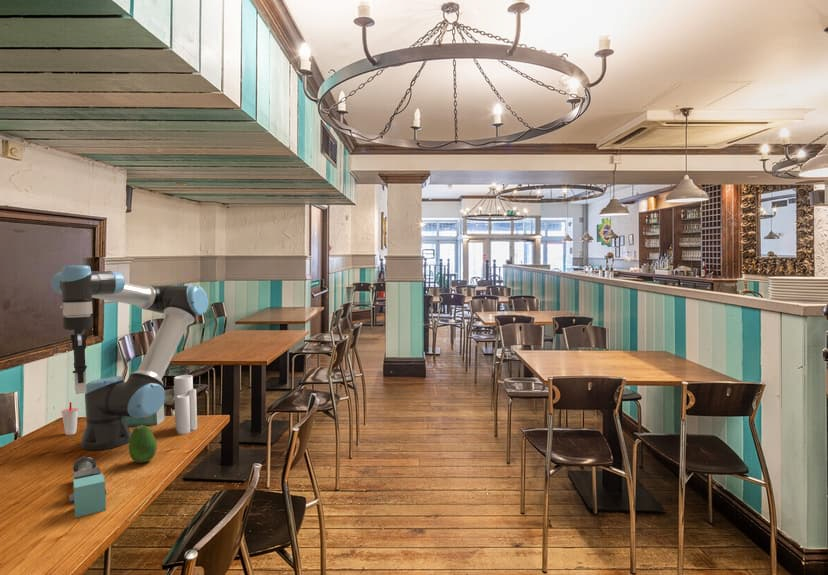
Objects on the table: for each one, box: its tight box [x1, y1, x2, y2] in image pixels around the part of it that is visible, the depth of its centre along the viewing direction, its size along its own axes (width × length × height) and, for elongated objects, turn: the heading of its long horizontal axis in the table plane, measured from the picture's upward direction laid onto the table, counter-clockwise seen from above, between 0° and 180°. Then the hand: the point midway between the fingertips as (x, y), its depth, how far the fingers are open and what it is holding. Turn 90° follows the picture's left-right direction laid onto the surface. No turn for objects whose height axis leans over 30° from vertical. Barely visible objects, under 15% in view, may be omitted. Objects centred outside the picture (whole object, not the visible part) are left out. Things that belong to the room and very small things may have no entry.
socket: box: [72, 473, 107, 519], centre depth 132 cm, size 6×7×8 cm
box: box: [124, 401, 165, 427], centre depth 204 cm, size 7×14×8 cm, turn 94°
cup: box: [61, 401, 79, 436], centre depth 191 cm, size 5×5×12 cm
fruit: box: [128, 425, 158, 464], centre depth 163 cm, size 8×8×12 cm
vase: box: [173, 374, 198, 435], centre depth 195 cm, size 11×7×20 cm, turn 33°
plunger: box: [72, 455, 97, 476], centre depth 144 cm, size 17×6×6 cm, turn 36°
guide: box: [68, 466, 107, 504], centre depth 139 cm, size 4×8×7 cm, turn 126°
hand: (80, 391), depth 156 cm, fingers open, 4 cm apart
